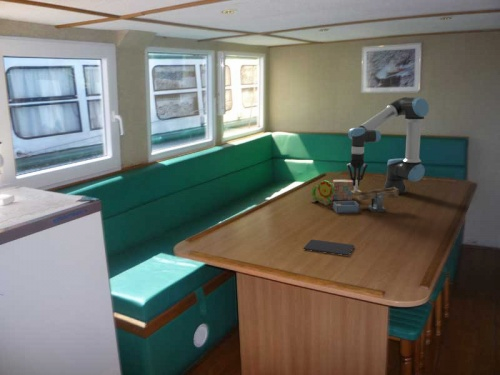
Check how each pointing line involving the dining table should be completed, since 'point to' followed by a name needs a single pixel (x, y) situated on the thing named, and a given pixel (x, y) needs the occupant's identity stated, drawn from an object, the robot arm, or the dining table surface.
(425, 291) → the dining table surface
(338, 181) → the stack of blocks
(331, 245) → the notebook
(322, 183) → the toy lion
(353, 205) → the tray
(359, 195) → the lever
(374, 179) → the dining table surface
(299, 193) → the dining table surface
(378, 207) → the fulcrum
